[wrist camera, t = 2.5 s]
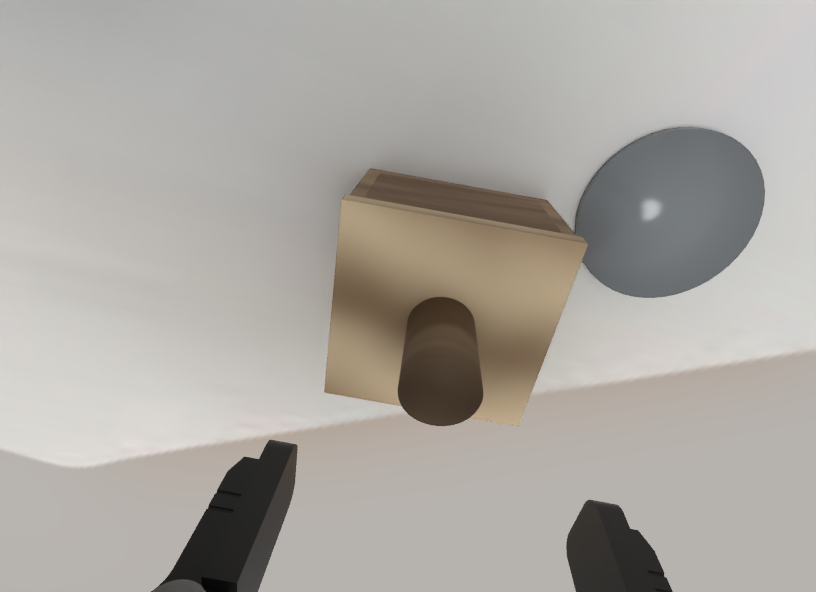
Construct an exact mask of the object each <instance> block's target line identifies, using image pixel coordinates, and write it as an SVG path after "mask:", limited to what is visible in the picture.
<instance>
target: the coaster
mask: <svg viewBox="0 0 816 592" xmlns="http://www.w3.org/2000/svg"><path fill="white" fill-rule="evenodd" d="M764 197H765V189H764V180H763V176H762V172H761V169H760V167H759V165H758V163H757V161H756V159H755V158H754V157H753V155H752V154H751V152H750V151H749V150H748V149H747V148H746V147H744V146H743V145H742V144H741V143H740V142H738V141H737V140H735V139H734V138H732V137H729V136H727V135H725V134H723V133H719V132H715V131H712V130H707V129H701V128H692V127H687V128H674V129H667V130H663V131H659V132H656V133H652V134H650V135H648V136H645V137H643V138H640V139H638V140H637V141H635V142H633V143H631V144H629V145H628V146H626V147H625V148H623V149H622V150H620V151H619V152H618V153H616V154H615V155H614V156H613V157H612V158H611V159H609V160H608V161H607V162H606V163H605V164H604V165H603V167H602V168H601V169H600V170H599V171H598V172H597V173H596V175H595V176H594V178H593V179H592V180H591V182H590V183H589V185H588V187H587V189H586V190H585V192H584V194H583V197H582V199H581V201H580V204H579V208H578V211H577V216H576V223H575V234H576V236H580V237H583V238H584V239H585V241H586V242H587V243H588V246H587V249H586V251H585V254H584V256H583V259H582V260H583V262H584V263H585V264H586V266H587V267H588V269H589V270H590V272H591V273H592V274H593V275H594V276H595V277H596V278H597V279H598V280H599V281H600V282H602V283H603V284H604V285H605V286H607V287H609V288H611V289H612V290H614V291H617V292H620V293H622V294H626V295H630V296H634V297H643V298H655V297H664V296H670V295H674V294H678V293H681V292H684V291H688V290H690V289H692V288H695V287H697V286H699V285H701V284H703V283H705V282H706V281H708V280H710V279H712V278H713V277H714V276H716V275H717V274H719V273H720V272H721V271H723V270H724V269H725V268H726V267H728V266H729V265H730V264H731V263H732V262H733V261H734V260H735V259H736V258H737V257H738V256H739V254H740V253H741V252H742V251H743V249H744V248H745V247H746V246H747V244H748V242H749V241H750V239H751V238H752V236H753V234H754V232H755V230H756V228H757V226H758V224H759V221H760V218H761V215H762V211H763V206H764Z"/></svg>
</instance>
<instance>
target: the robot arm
mask: <svg viewBox="0 0 816 592" xmlns="http://www.w3.org/2000/svg"><path fill="white" fill-rule="evenodd" d="M296 460H297V445H296V444H290V443H286V442H280V441H275V440H269V441H268V443H267V444H266V446H265V448H264V450H263V452H262V454H261V456H260V459H254V458H249V457H244V458H243V459H241V460H240V461H239V462H238V463H237V464H236V465H234V466H233V467H232V468H231V469H230V470H229V471H228V472H227V474H226V475H225V477H224V479H223V481H222V482H221V484H220V486H219V488H218V490H217V493H216V494H215V495H214V497H213V499H212V500H211V502H210V504H209V507H208V509H206V511H205V513H204V515H203V516H202V518H201V520H200V522H199V524H198V526H197V527H196V529H195V531H194V533H193V534H192V536H191V538H190V540H189V541H188V543H187V545H186V547H185V549H184V550H183V552H182V554H181V556H180V558H179V560H178V561H177V563H176V565H175V566H174V568H173V570H172V571H171V573H170V574H169V575H168V577H167V578H166V579H165V580H164V581H163V582H162V583H161V584H160V585H159V586H158V587H157V588H155V589H154V590H153V591H151V592H258V589H259V587H260V584H261V581H262V578H263V576H264V573H265V570H266V568H267V565H268V562H269V559H270V557H271V554H272V551H273V549H274V545H275V543H276V540H277V538H278V535H279V532H280V530H281V527H282V524H283V521H284V519H285V516H286V513H287V510H288V508H289V505H290V502H291V498H292V495H293V490H294V484H295V473H296ZM567 558H568V562H569V566H570V570H571V573H572V578H573V581H574V585H575V589H576V592H672V589H671V587H670V585H669V583H668V580H667V578H665V577H664V572H663V569H662V567H661V565H660V562H659V560H658V558H657V556H656V554H655V551H654V550H653V549H652V547H651V546H650V545H649V544H648V542H647V541H646V540H645V539H644V537H643V536H642V535H641V533H640V532H639V531H638V530H633V529H630V527H629V525H628V523H627V520H626V518H625V515H624V513H623V511H622V509H621V508H620V507H619V506H618V505H615V504H610V503H605V502H599V501H594V500H588V501H586V503H585V504H584V506H583V508H582V510H581V512H580V513H579V515H578V517H577V519H576V521H575V523H574V525H573V526H572V528H571V530H570V532H569V534H568V538H567Z"/></svg>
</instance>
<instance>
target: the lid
mask: <svg viewBox="0 0 816 592" xmlns="http://www.w3.org/2000/svg"><path fill="white" fill-rule="evenodd" d="M587 246H588V243H587V242H586V241H585V239H584V238H583V237H580V236H574V235H569V234H563V233H557V232H552V231H546V230H541V229H535V228H530V227H524V226H519V225H513V224H507V223H502V222H496V221H491V220H485V219H480V218H474V217H469V216H463V215H457V214H452V213H446V212H441V211H435V210H430V209H424V208H419V207H413V206H407V205H402V204H396V203H391V202H385V201H380V200H374V199H369V198H363V197H358V196H352V195H345V196H344V197H343V198H342V201H341V212H340V223H339V234H338V245H337V256H336V268H335V279H334V290H333V301H332V312H331V323H330V334H329V346H328V357H327V368H326V379H325V390H324V392H325V393H331V394H336V395H342V396H348V397H353V398H359V399H365V400H371V401H376V402H382V403H388V404H393V405H399V406H402V407H403V409H404V410H405V411H406V412H407V413H408V414H409V415H410V416H412V417H413V418H415V419H416V420H418V421H420V422H423V423H426V424H430V425H436V426H448V425H454V424H458V423H460V422H463V421H465V420H467V419H468V418H474V419H479V420H485V421H490V422H496V423H502V424H508V425H513V426H519V423H520V421H521V418H522V416H523V413H524V410H525V408H526V405H527V403H528V400H529V397H530V395H531V392H532V390H533V387H534V384H535V382H536V379H537V376H538V374H539V371H540V369H541V366H542V363H543V361H544V358H545V356H546V353H547V350H548V348H549V345H550V343H551V340H552V337H553V335H554V332H555V329H556V327H557V324H558V322H559V319H560V316H561V314H562V311H563V309H564V306H565V303H566V301H567V298H568V296H569V293H570V290H571V288H572V285H573V282H574V280H575V277H576V275H577V272H578V269H579V267H580V264H581V262H582V259H583V256H584V254H585V251H586V249H587Z"/></svg>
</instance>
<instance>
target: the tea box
mask: <svg viewBox="0 0 816 592" xmlns="http://www.w3.org/2000/svg"><path fill="white" fill-rule="evenodd" d="M350 195H352V196H358V197H363V198H369V199H374V200H380V201H385V202H391V203H396V204H402V205H407V206H413V207H419V208H424V209H430V210H435V211H441V212H446V213H452V214H457V215H463V216H469V217H474V218H480V219H485V220H491V221H496V222H502V223H507V224H513V225H519V226H524V227H530V228H535V229H541V230H546V231H552V232H557V233H563V234H569V235H574V236H576V234H575V233H574V232H573V231H572V230H571V228H570V227H569V226H568V225H567V224H566V222H565V221H564V220H563V219H562V218H561V216H560V215H559V214H558V213H557V212H556V210H555V209H554V208H553V207H552V206H551V204H550V203H549V202H548V201H547V200H541V199H536V198H530V197H525V196H519V195H513V194H508V193H502V192H497V191H491V190H486V189H480V188H475V187H469V186H464V185H458V184H453V183H447V182H442V181H436V180H430V179H425V178H419V177H414V176H408V175H403V174H397V173H392V172H386V171H381V170H375V169H370V170H369V171H368V172H367V173H366V175H365V176H364V177H363V179H362V180H361V181H360V182H359V184H358V185H357V186H356V188H355V189H354V190H353V191H352V193H351V194H350Z"/></svg>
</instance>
